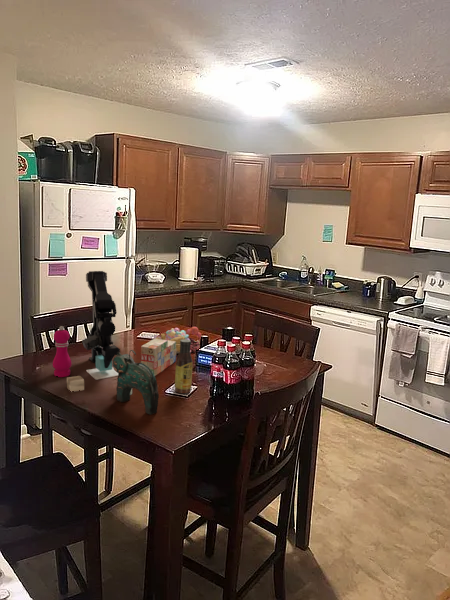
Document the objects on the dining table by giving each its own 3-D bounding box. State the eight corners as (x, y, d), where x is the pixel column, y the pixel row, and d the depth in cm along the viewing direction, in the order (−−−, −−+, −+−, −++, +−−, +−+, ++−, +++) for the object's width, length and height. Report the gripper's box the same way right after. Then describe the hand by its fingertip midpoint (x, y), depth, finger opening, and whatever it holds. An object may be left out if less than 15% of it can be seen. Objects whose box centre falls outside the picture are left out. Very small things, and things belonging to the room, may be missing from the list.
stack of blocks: (163, 359, 226) (164, 332, 223) (176, 361, 224) (177, 334, 221) (140, 374, 206) (140, 345, 203) (153, 377, 204) (154, 348, 201)
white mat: (85, 371, 206) (85, 370, 206) (111, 366, 212) (111, 365, 212) (95, 379, 197) (95, 378, 197) (122, 375, 204) (122, 374, 204)
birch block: (66, 387, 189) (66, 377, 188) (80, 385, 191) (80, 375, 191) (70, 392, 185) (70, 382, 184) (84, 390, 187) (84, 380, 187)
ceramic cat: (111, 399, 180) (111, 346, 176) (125, 394, 185) (126, 342, 181) (148, 417, 168) (150, 360, 164) (162, 411, 173) (164, 356, 169)
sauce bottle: (184, 395, 187) (186, 344, 183) (171, 391, 190) (172, 341, 186) (194, 390, 192) (196, 340, 188) (181, 386, 196) (183, 337, 191)
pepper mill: (54, 378, 196) (53, 329, 192) (51, 372, 203) (50, 324, 198) (73, 376, 200) (72, 327, 195) (69, 370, 206) (69, 323, 202)
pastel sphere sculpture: (200, 356, 233) (201, 337, 231) (149, 353, 233) (149, 334, 231) (204, 341, 257) (204, 323, 255) (158, 338, 257) (158, 320, 255)
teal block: (95, 367, 205) (95, 355, 204) (107, 365, 208) (107, 354, 207) (100, 371, 201) (100, 359, 200) (112, 369, 204) (112, 357, 203)
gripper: (76, 325, 204) (76, 362, 207) (93, 337, 189) (93, 376, 192) (102, 322, 210) (102, 358, 213) (120, 334, 195) (120, 372, 199)
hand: (103, 366), depth 204 cm, fingers closed on teal block, 5 cm apart
